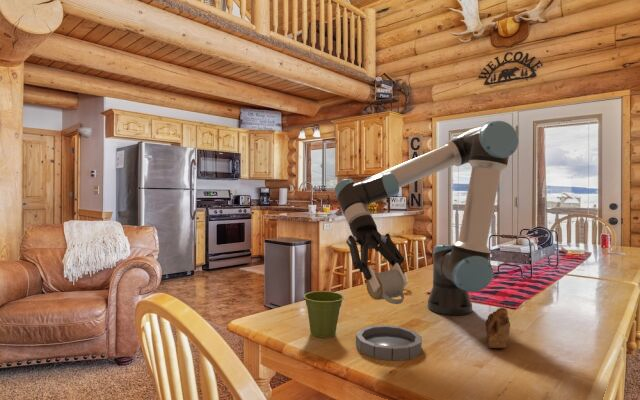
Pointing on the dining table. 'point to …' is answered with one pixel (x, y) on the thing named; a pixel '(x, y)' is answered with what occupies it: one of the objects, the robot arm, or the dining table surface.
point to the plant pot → (323, 312)
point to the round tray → (389, 342)
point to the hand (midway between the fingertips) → (391, 287)
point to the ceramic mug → (387, 287)
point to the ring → (406, 278)
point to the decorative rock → (498, 328)
